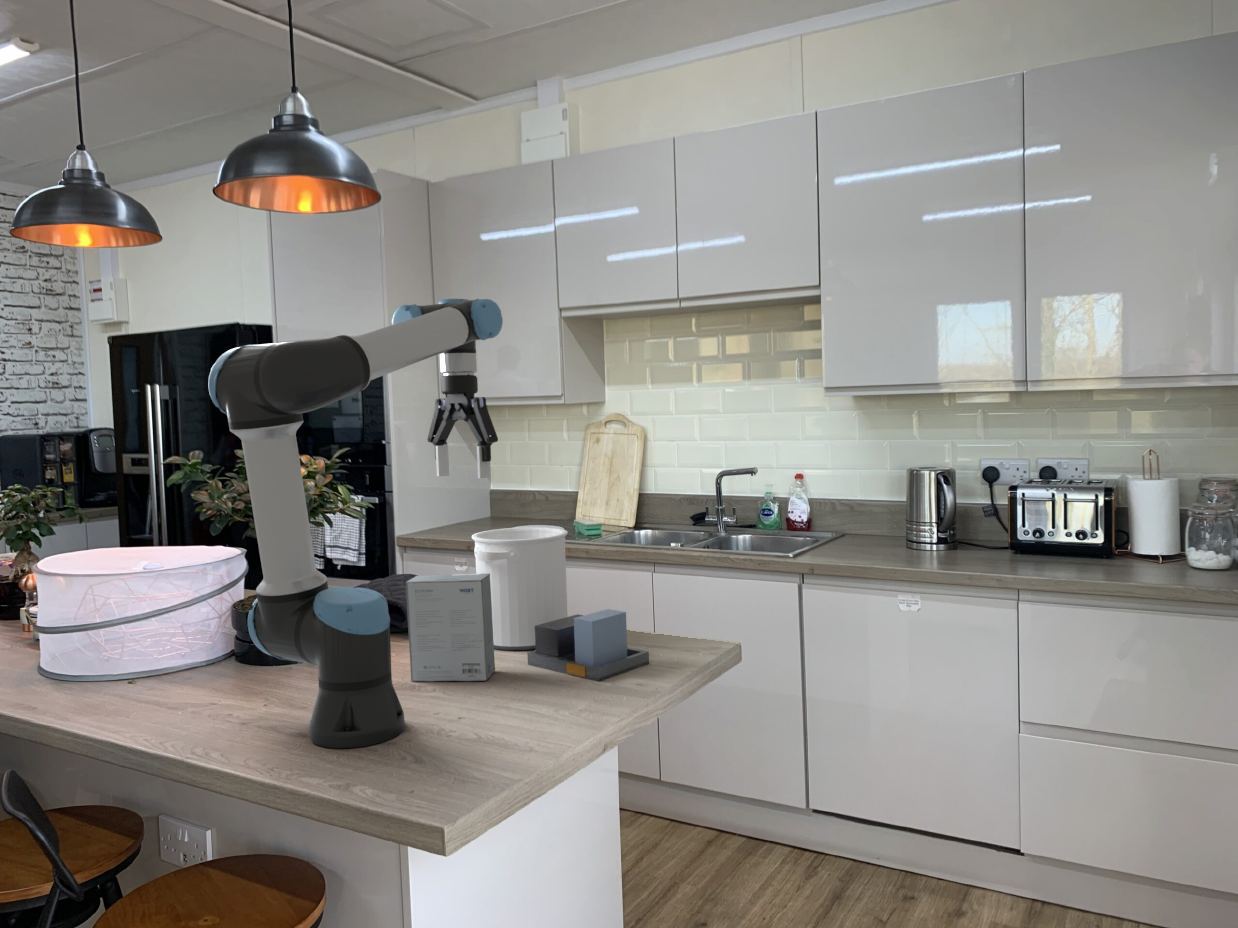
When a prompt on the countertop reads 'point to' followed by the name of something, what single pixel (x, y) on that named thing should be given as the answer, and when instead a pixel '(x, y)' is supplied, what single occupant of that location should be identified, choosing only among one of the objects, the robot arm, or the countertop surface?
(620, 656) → the block
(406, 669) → the countertop surface
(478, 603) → the hard drive box
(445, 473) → the robot arm
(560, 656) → the tray
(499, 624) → the bucket
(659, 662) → the countertop surface
